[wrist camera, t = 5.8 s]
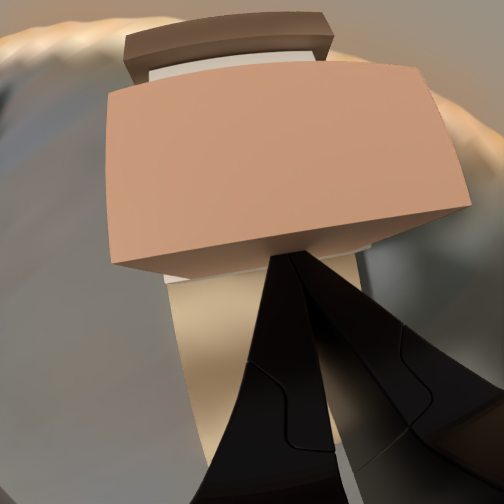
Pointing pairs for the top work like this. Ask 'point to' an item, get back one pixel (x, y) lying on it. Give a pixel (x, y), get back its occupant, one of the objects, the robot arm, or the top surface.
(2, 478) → the top surface
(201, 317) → the tan cardboard slab
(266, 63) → the brown piece
